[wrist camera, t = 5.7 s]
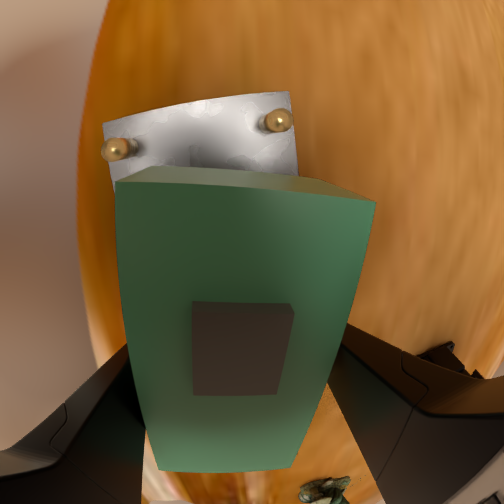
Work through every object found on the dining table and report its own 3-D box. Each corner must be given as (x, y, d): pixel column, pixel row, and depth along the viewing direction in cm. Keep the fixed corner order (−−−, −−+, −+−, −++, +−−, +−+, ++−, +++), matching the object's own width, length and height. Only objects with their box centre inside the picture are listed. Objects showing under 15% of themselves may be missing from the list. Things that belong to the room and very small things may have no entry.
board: (273, 405, 12) (292, 475, 9) (164, 405, 11) (158, 478, 8) (318, 178, 9) (386, 206, 5) (152, 165, 8) (107, 185, 4)
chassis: (303, 325, 23) (320, 361, 19) (167, 347, 22) (161, 388, 18) (282, 94, 16) (304, 81, 12) (110, 124, 16) (81, 121, 11)
